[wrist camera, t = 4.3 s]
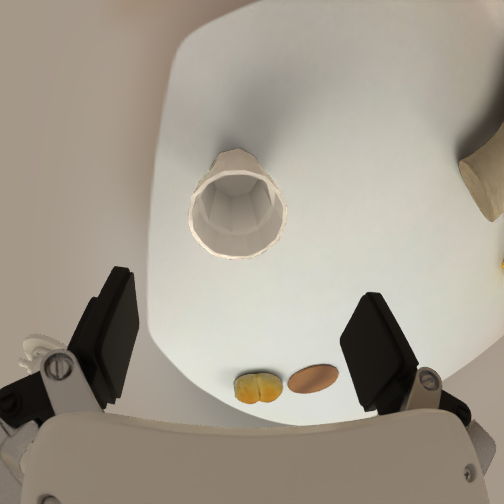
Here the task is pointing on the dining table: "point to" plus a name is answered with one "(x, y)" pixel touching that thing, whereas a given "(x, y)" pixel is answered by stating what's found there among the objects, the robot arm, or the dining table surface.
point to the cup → (237, 208)
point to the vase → (486, 175)
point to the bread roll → (257, 388)
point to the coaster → (313, 379)
